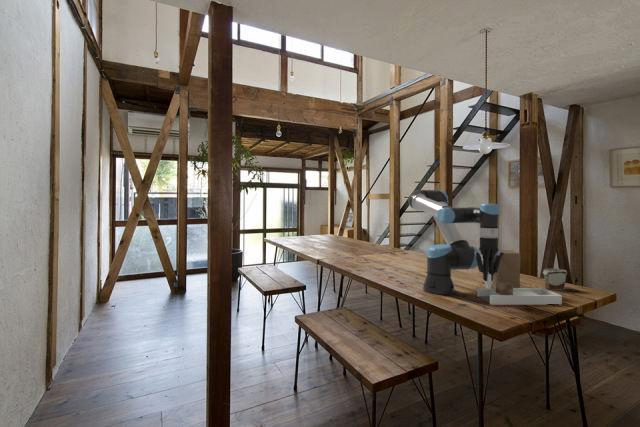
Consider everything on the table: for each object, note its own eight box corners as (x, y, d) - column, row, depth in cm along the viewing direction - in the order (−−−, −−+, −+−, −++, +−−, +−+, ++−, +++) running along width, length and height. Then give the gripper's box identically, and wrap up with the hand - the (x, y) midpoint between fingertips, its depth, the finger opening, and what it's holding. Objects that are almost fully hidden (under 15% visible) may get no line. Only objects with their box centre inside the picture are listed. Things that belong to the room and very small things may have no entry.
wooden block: (519, 292, 161) (521, 253, 160) (498, 291, 163) (499, 252, 162) (512, 287, 170) (513, 250, 170) (491, 286, 172) (492, 249, 172)
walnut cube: (502, 295, 146) (502, 284, 146) (495, 292, 151) (496, 281, 150) (512, 295, 146) (513, 284, 146) (506, 292, 151) (506, 281, 151)
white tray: (490, 304, 142) (491, 295, 142) (477, 296, 154) (477, 288, 154) (561, 304, 143) (561, 295, 143) (542, 296, 155) (542, 288, 155)
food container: (556, 286, 173) (556, 267, 173) (566, 289, 167) (567, 270, 167) (536, 287, 171) (537, 268, 171) (546, 290, 165) (547, 271, 165)
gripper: (479, 238, 143) (478, 290, 144) (507, 238, 143) (506, 289, 144) (470, 236, 150) (469, 285, 151) (498, 236, 151) (497, 285, 152)
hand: (487, 287), depth 148 cm, fingers closed
